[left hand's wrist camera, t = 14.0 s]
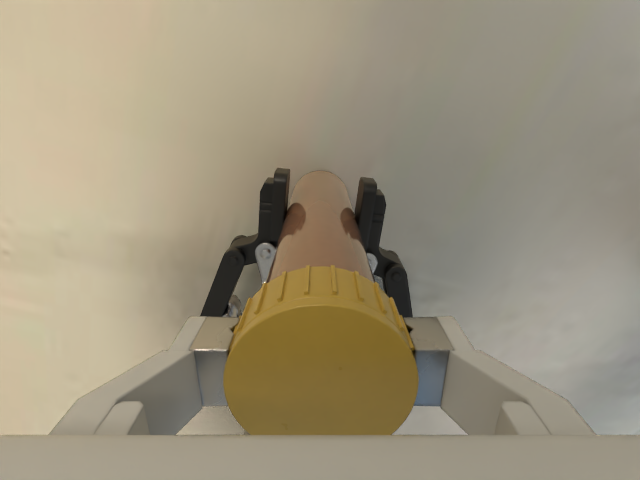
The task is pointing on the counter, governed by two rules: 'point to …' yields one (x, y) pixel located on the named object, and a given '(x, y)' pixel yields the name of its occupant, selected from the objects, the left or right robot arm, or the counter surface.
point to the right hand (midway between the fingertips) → (325, 177)
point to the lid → (320, 358)
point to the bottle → (320, 229)
